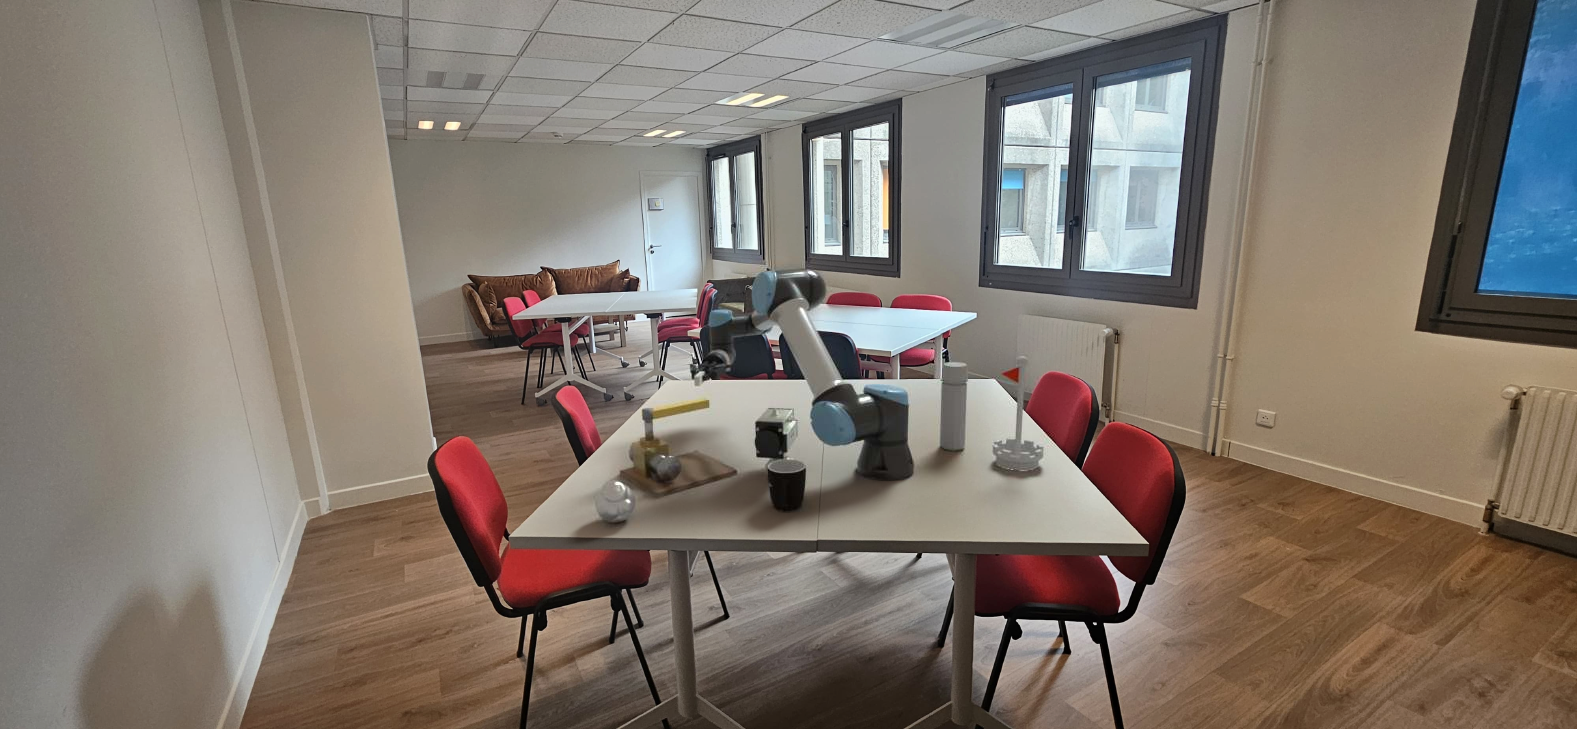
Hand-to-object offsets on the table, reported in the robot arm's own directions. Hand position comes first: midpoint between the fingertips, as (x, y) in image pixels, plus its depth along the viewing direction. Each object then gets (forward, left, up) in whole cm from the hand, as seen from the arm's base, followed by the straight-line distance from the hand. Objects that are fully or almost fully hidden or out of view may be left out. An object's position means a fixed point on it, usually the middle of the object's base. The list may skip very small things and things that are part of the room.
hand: (697, 381), depth 188 cm
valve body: (-11, +16, -21) cm, 29 cm away
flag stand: (-48, -74, -23) cm, 91 cm away
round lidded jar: (-33, +31, -23) cm, 50 cm away
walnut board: (-11, +10, -22) cm, 27 cm away
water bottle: (-28, -68, -22) cm, 77 cm away
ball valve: (-23, -14, -23) cm, 35 cm away
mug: (-45, -6, -23) cm, 51 cm away
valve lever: (-7, +8, -6) cm, 13 cm away
